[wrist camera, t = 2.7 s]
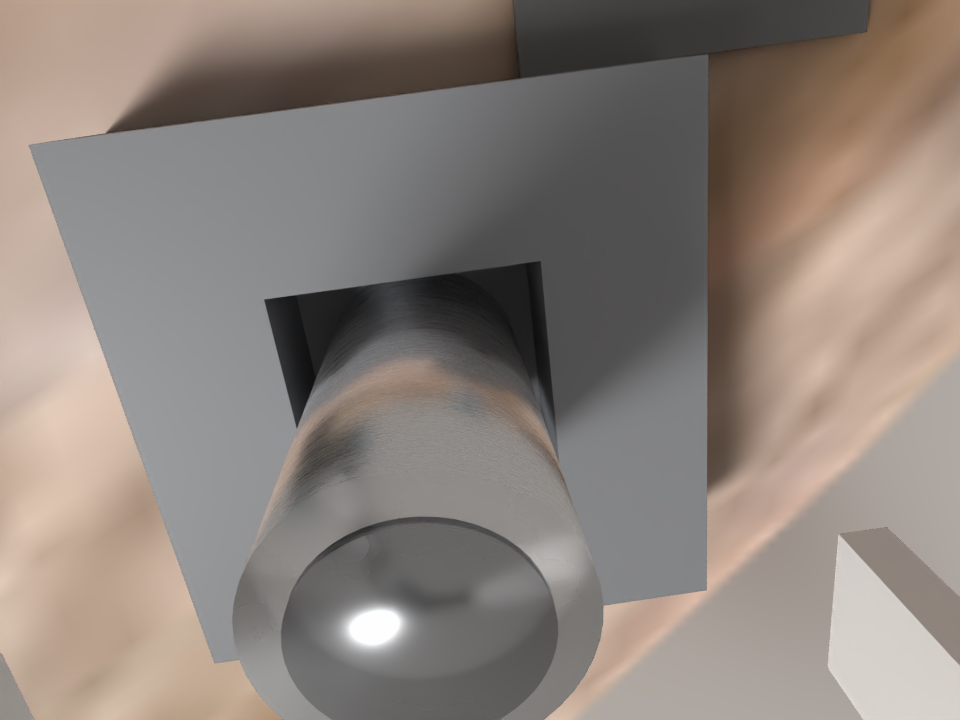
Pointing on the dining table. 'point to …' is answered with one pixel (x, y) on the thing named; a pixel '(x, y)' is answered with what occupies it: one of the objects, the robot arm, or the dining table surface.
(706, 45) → the mat
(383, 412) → the end cap
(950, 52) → the dining table surface
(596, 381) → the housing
